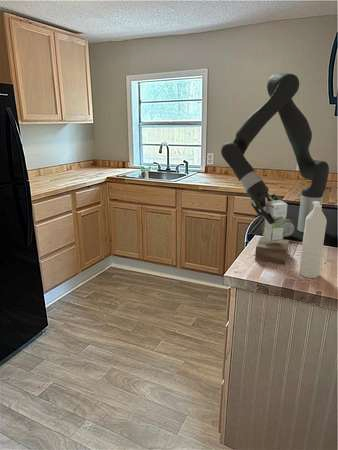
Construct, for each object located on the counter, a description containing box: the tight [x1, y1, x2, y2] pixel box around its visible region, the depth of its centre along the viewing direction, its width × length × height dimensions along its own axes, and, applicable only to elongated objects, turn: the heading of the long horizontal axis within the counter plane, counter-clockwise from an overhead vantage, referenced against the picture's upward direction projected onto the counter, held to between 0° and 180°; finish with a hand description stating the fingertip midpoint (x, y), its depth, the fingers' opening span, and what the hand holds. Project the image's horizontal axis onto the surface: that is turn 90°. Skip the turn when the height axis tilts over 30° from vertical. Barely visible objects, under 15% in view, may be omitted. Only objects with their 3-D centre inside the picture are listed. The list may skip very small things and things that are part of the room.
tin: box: [260, 218, 297, 238], centre depth 147 cm, size 15×3×8 cm, turn 84°
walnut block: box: [254, 236, 290, 266], centre depth 127 cm, size 11×11×6 cm
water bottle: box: [298, 201, 328, 279], centre depth 111 cm, size 9×6×25 cm
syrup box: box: [262, 200, 288, 241], centre depth 123 cm, size 6×6×14 cm
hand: (278, 220), depth 122 cm, fingers closed on syrup box, 7 cm apart
